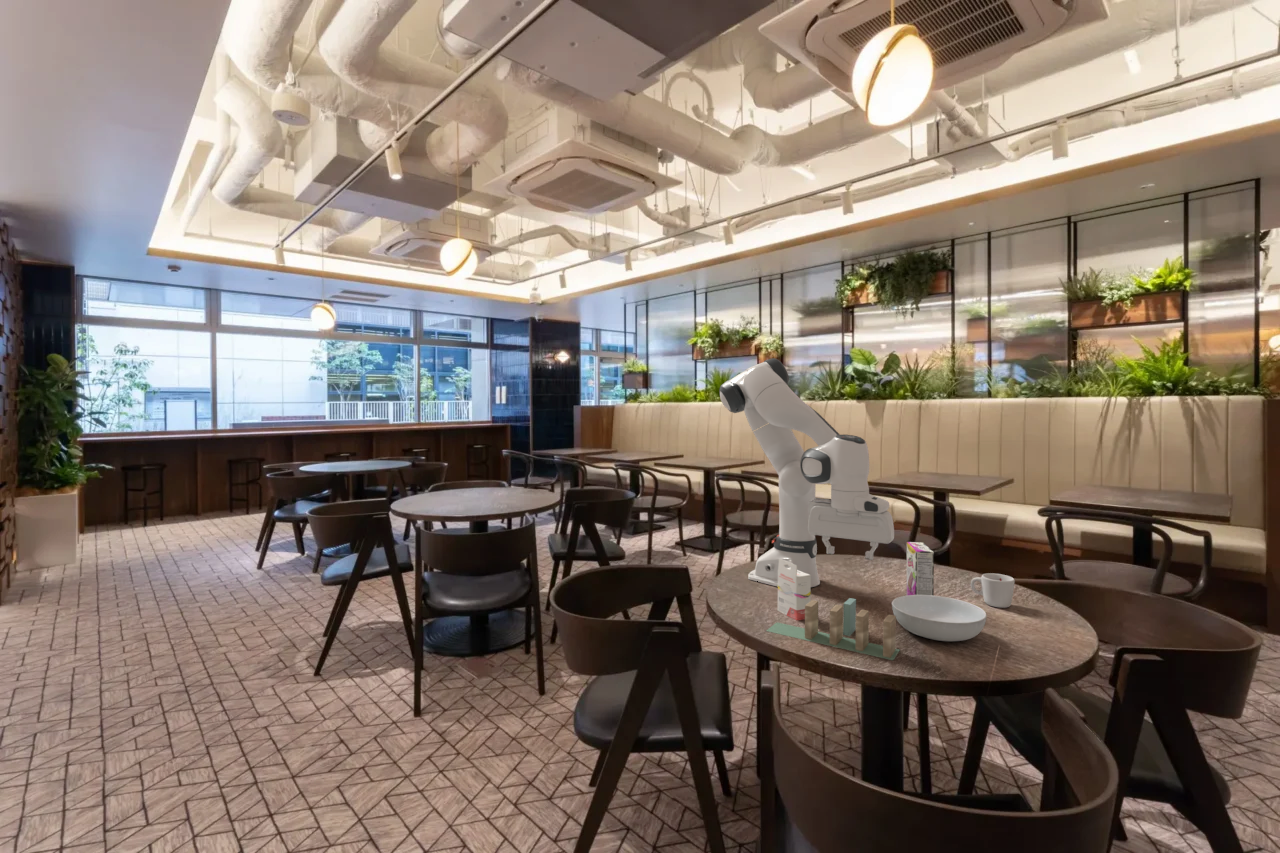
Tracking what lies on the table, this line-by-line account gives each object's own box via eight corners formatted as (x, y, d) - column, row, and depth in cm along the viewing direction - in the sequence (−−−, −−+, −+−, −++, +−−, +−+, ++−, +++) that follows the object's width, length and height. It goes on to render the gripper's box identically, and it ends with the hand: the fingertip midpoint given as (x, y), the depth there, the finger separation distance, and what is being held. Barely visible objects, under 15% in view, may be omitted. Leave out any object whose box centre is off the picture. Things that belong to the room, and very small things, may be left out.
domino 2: (829, 643, 141) (829, 610, 140) (835, 637, 145) (836, 604, 144) (836, 645, 140) (836, 611, 139) (842, 638, 144) (842, 605, 144)
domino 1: (804, 638, 144) (804, 605, 144) (811, 631, 148) (811, 599, 148) (811, 639, 143) (811, 606, 143) (818, 633, 147) (818, 601, 147)
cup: (966, 603, 169) (967, 575, 169) (974, 596, 175) (974, 569, 175) (1010, 612, 162) (1011, 583, 162) (1016, 604, 168) (1017, 576, 168)
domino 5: (882, 656, 134) (883, 621, 133) (888, 648, 138) (888, 614, 138) (890, 657, 133) (890, 622, 133) (895, 650, 137) (895, 615, 137)
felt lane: (765, 631, 149) (765, 630, 149) (776, 623, 155) (776, 622, 155) (893, 661, 132) (893, 660, 132) (900, 650, 137) (900, 649, 137)
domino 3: (843, 635, 146) (843, 603, 146) (849, 629, 150) (849, 597, 150) (849, 637, 145) (850, 604, 145) (855, 630, 149) (856, 599, 149)
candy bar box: (905, 596, 175) (905, 541, 175) (923, 597, 174) (924, 542, 174) (914, 609, 164) (915, 550, 164) (934, 610, 163) (935, 551, 163)
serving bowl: (970, 622, 155) (970, 596, 154) (999, 656, 134) (1000, 626, 134) (884, 616, 159) (885, 590, 159) (900, 647, 139) (900, 618, 139)
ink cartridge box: (811, 618, 158) (812, 563, 157) (796, 621, 156) (796, 565, 155) (791, 608, 166) (791, 556, 165) (776, 610, 164) (776, 558, 163)
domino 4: (855, 649, 137) (855, 615, 137) (861, 642, 141) (861, 609, 141) (862, 651, 136) (863, 617, 136) (868, 644, 140) (868, 610, 140)
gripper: (804, 499, 150) (804, 553, 151) (889, 506, 138) (889, 565, 139) (812, 495, 155) (812, 548, 156) (896, 502, 143) (895, 559, 144)
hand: (849, 556), depth 147 cm, fingers open, 8 cm apart
